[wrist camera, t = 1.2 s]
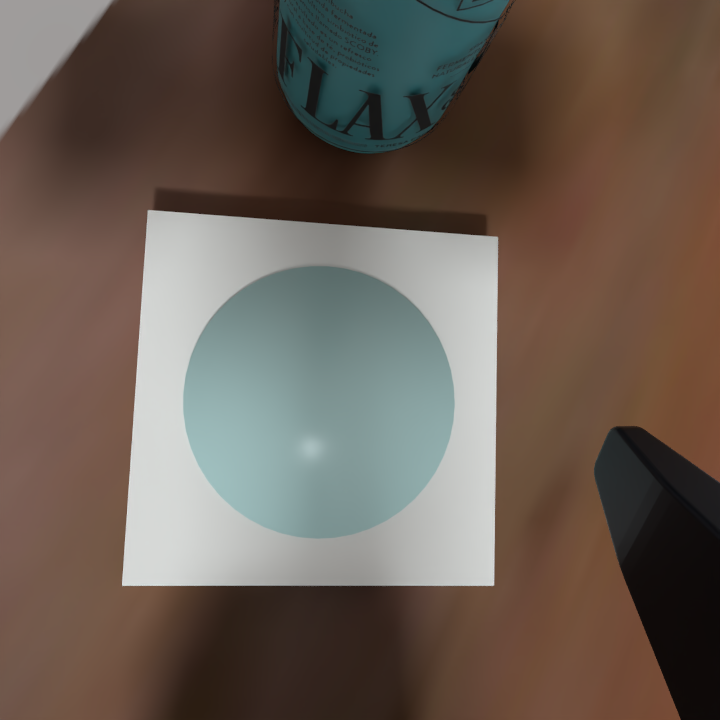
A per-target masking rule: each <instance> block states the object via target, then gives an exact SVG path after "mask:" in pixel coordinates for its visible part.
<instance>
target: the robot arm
mask: <svg viewBox="0 0 720 720" xmlns="http://www.w3.org/2000/svg"><path fill="white" fill-rule="evenodd" d="M594 476H595V481H596V484H597V488H598V492H599V495H600V499H601V502H602V506H603V509H604V513H605V517H606V520H607V524H608V527H609V531H610V534H611V538H612V542H613V545H614V549H615V552H616V556H617V559H618V562H619V565H620V568H621V571H622V573H623V576H624V579H625V581H626V584H627V586H628V589H629V591H630V594H631V596H632V599H633V601H634V604H635V606H636V609H637V611H638V614H639V616H640V619H641V621H642V624H643V626H644V629H645V631H646V634H647V636H648V639H649V641H650V644H651V646H652V649H653V651H654V654H655V656H656V659H657V661H658V664H659V666H660V669H661V671H662V674H663V676H664V679H665V681H666V684H667V686H668V689H669V691H670V694H671V696H672V699H673V701H674V704H675V706H676V709H677V711H678V714H679V716H680V719H681V720H720V483H719V482H718V481H717V480H715V479H714V478H712V477H711V476H709V475H708V474H707V473H705V472H704V471H702V470H701V469H700V468H698V467H697V466H695V465H694V464H692V463H691V462H690V461H688V460H687V459H685V458H684V457H683V456H681V455H680V454H678V453H677V452H675V451H674V450H673V449H671V448H670V447H668V446H667V445H665V444H664V443H663V442H661V441H660V440H658V439H657V438H656V437H654V436H653V435H651V434H650V433H648V432H647V431H646V430H644V429H642V428H641V427H637V426H616V427H613V428H612V429H611V430H610V431H609V433H608V435H607V437H606V439H605V441H604V444H603V446H602V448H601V451H600V453H599V455H598V458H597V460H596V463H595V467H594Z"/></svg>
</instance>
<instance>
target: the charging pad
mask: <svg viewBox="0 0 720 720" xmlns="http://www.w3.org/2000/svg"><path fill="white" fill-rule="evenodd" d="M497 280H498V237H491V236H478V235H465V234H452V233H439V232H426V231H413V230H400V229H388V228H375V227H362V226H349V225H336V224H323V223H310V222H297V221H284V220H271V219H258V218H245V217H232V216H219V215H206V214H193V213H180V212H167V211H154V210H148V216H147V231H146V245H145V260H144V274H143V289H142V303H141V318H140V332H139V347H138V362H137V376H136V391H135V405H134V420H133V434H132V449H131V463H130V478H129V492H128V507H127V522H126V536H125V551H124V565H123V580H122V586H494V543H495V455H496V367H497Z"/></svg>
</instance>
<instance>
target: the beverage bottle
mask: <svg viewBox="0 0 720 720" xmlns="http://www.w3.org/2000/svg"><path fill="white" fill-rule="evenodd" d="M274 1H275V0H274ZM278 2H279V0H278ZM508 2H509V0H280V5H279V9H278V7H277V6H276V7H277V9H278V11H279V20H278V21H279V22H277V23H278V39H277V70H278V74H277V77H278V76H279V78H278V81H279V80H280V86H281V87H282V90H283V93H284V94H285V97H286V99H287V101H288V103H289V105H290V107H291V108H292V110H293V111H292V110H291V109H290V108H289V109H290V110H291V111H292V113H293V112H294V113H295V114H294V113H293V114H294V115H295V116H296V117H298V118H297V119H298V120H299V121H300V122H302V124H303V125H304V126H305V127H306V128H307V129H308V130H310V131H311V132H312V133H313V134H315V135H316V136H317V137H319V138H320V139H322V140H324V141H325V142H327V143H329V144H331V145H333V146H336V147H338V148H341V149H344V150H347V151H352V152H357V153H382V152H388V151H393V150H398V148H399V149H401V147H402V148H404V147H403V146H405V145H407V144H409V143H411V142H413V141H415V140H416V139H418V138H419V137H421V136H423V135H424V134H426V132H429V130H430V129H431V128H432V127H433V126H434V125H435V124H436V123H437V121H438V120H439V119H440V118H441V116H442V115H443V113H444V112H445V110H446V108H447V107H448V105H449V103H450V102H451V101H452V100H453V98H454V97H453V96H454V95H455V94H456V93H457V92H456V91H457V89H458V88H459V89H460V91H458V93H459V94H460V92H461V89H462V87H463V86H464V85H462V86H460V84H461V83H462V81H463V80H465V76H466V74H467V72H468V74H469V73H470V72H471V71H472V70H473V69H474V68H475V67H476V66H478V64H479V61H481V60H480V59H482V58H481V57H483V56H484V55H483V53H484V52H485V50H484V48H483V47H484V46H485V45H486V44H487V42H486V44H485V41H486V40H487V38H488V37H490V36H491V37H492V38H493V36H494V35H493V34H494V33H495V31H496V30H495V28H496V29H498V28H497V25H498V21H499V19H501V18H502V17H503V16H502V17H500V16H501V14H502V12H503V10H504V9H505V7H506V5H507V4H508ZM512 2H513V1H512ZM514 2H515V1H514ZM514 2H513V3H514ZM276 3H277V1H276ZM511 5H512V4H511ZM276 7H275V6H274V8H276ZM508 8H511V6H509V7H508ZM507 10H508V9H507ZM274 12H277V10H274ZM505 13H506V14H507V11H506V12H505ZM507 15H508V14H507ZM505 16H506V15H505ZM499 17H500V18H499ZM506 17H507V16H506ZM274 18H275V14H274ZM277 18H278V16H277ZM277 18H275V19H274V20H277ZM504 19H506V18H504ZM274 20H273V21H274ZM504 21H505V20H504ZM504 21H503V22H504ZM496 22H497V23H496ZM503 22H502V24H503ZM273 23H274V22H273ZM495 24H496V26H495ZM273 25H274V24H273ZM500 25H501V24H500ZM276 26H277V25H276ZM494 26H495V28H494ZM501 26H502V25H501ZM501 26H499V27H501ZM493 28H494V30H495V31H493V32H494V33H492V34H490V33H491V31H492V29H493ZM275 29H276V28H275ZM274 33H275V32H274ZM489 34H490V36H489ZM495 34H497V32H496V33H495ZM492 35H493V36H492ZM491 37H490V39H491ZM494 37H495V36H494ZM272 39H274V35H273V38H272ZM490 39H489V41H490ZM492 40H493V39H492ZM272 41H273V40H272ZM488 43H489V42H488ZM490 43H491V41H490ZM490 43H489V44H490ZM484 44H485V45H484ZM487 46H488V44H487V45H486V47H487ZM481 48H483V49H482V51H483V50H484V51H483V52H482V51H481V52H482V53H481V52H480V50H481ZM485 49H486V48H485ZM487 49H488V48H487ZM486 51H487V50H486ZM479 52H480V53H481V54H480V56H479V57H477V55H478V53H479ZM484 54H485V53H484ZM482 55H483V56H482ZM476 57H477V58H476ZM272 60H273V56H272ZM272 64H273V63H272ZM475 69H476V68H475ZM273 70H274V69H273ZM474 71H475V70H474ZM474 71H473V72H474ZM276 73H277V71H276ZM472 74H473V73H472ZM274 76H275V74H274ZM471 76H472V75H471ZM467 77H468V75H467ZM275 79H276V78H275ZM469 79H470V78H469ZM468 81H469V80H468ZM276 82H277V81H276ZM463 83H465V82H464V81H463ZM463 83H462V84H463ZM466 84H467V83H466ZM277 86H278V84H277ZM459 86H460V87H459ZM465 86H466V85H465ZM278 88H279V87H278ZM463 89H464V87H463ZM463 89H462V91H463ZM279 91H280V89H279ZM280 93H281V92H280ZM458 93H457V94H458ZM281 95H282V94H281ZM457 96H458V95H457ZM459 96H460V95H459ZM282 97H283V96H282ZM283 99H284V98H283ZM455 99H458V98H455ZM284 101H285V99H284ZM285 102H286V101H285ZM455 103H456V102H455ZM286 104H287V103H286ZM287 106H288V104H287ZM288 107H289V106H288ZM448 113H449V112H448ZM446 116H447V115H446ZM446 116H445V117H446ZM443 119H444V118H443ZM443 119H442V120H443ZM442 120H441V121H442ZM444 120H445V119H444ZM444 120H443V121H444ZM438 124H439V123H437V124H436V126H437V125H438ZM433 128H434V127H433ZM431 130H432V129H431ZM433 131H434V130H433ZM433 131H432V132H433ZM432 132H431V133H432ZM428 135H429V134H428ZM428 135H427V136H428ZM425 137H426V136H425ZM425 137H424V138H425ZM422 139H423V138H422ZM422 139H421V140H422ZM419 141H420V140H419ZM417 142H418V141H417ZM415 143H416V142H415ZM413 144H414V143H413ZM411 145H412V144H411ZM408 146H410V145H408ZM405 147H407V146H405Z"/></svg>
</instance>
